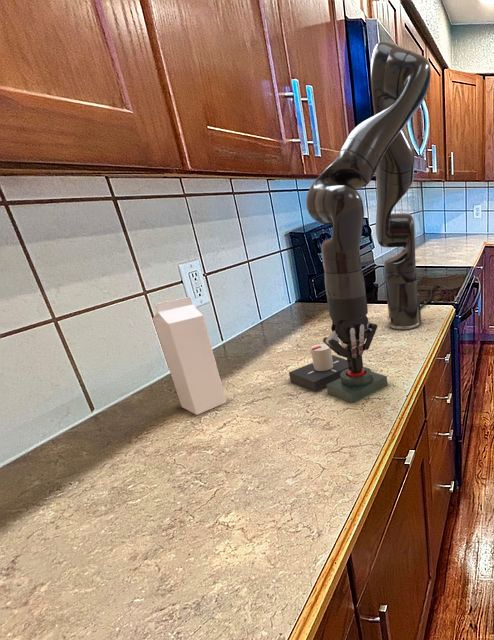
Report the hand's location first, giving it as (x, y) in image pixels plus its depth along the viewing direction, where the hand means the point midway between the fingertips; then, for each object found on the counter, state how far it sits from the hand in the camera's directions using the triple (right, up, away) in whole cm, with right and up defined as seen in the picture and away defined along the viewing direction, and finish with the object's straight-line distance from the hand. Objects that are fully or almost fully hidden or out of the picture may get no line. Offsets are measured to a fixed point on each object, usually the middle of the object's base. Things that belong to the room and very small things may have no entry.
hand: (356, 371), depth 90 cm
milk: (-30, -7, -5) cm, 31 cm away
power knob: (-9, +1, +6) cm, 11 cm away
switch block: (0, -4, +2) cm, 4 cm away
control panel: (-9, -2, +7) cm, 12 cm away
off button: (0, -2, +1) cm, 2 cm away
